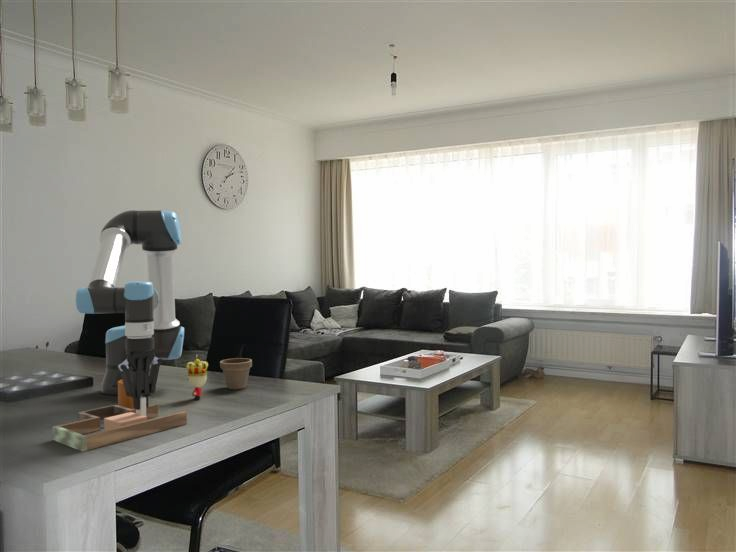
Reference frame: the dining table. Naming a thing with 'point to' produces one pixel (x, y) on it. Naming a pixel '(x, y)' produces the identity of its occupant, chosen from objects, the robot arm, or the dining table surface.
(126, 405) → the mug
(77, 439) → the wooden tray frame
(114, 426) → the block
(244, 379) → the flower pot
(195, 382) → the toy
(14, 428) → the dining table surface
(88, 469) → the dining table surface
